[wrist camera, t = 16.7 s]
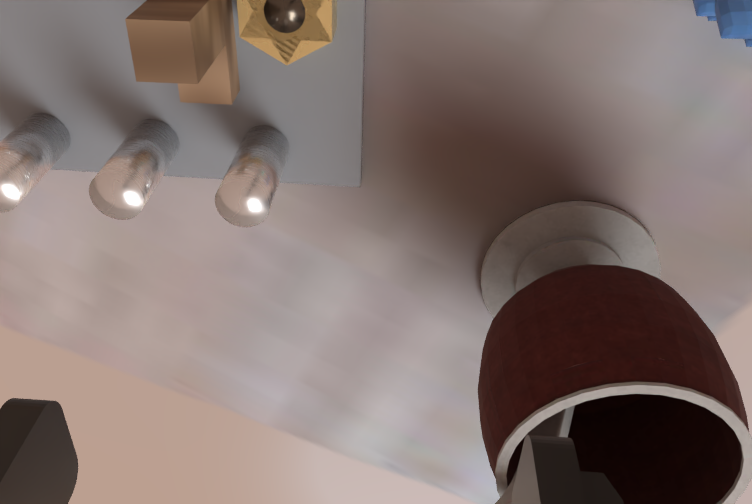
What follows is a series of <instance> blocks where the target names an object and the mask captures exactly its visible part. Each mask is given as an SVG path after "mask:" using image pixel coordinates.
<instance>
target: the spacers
mask: <svg viewBox="0 0 752 504" xmlns="http://www.w3.org/2000/svg"><path fill="white" fill-rule="evenodd" d="M70 143H71V137H70V133H69V131H68V129H67V127H66V126H65V125H64V124H63V123H62V122H61V121H60V120H59V119H58V118H56V117H54V116H52V115H50V114H47V113H34V114H31V115H30V116H28V117H27V118H26V119H25V120H24V121H23V122H22V123H20V124H19V125H18V126H17V127H16V128H15V129H14V130H13V131H12V132H10V133H9V134H8V135H7V136H6V137H5V138H4V139H3V140H2V141H0V212H7V211H10V210H12V209H14V208H15V207H16V206H17V205H18V204H19V202H20V201H21V200H22V199H23V198H24V197H25V196H26V195H27V194H28V193H29V192H30V190H31V189H32V188H33V187H34V186H35V185H36V184H37V183H38V182H39V181H40V180H41V178H42V177H43V176H44V175H45V174H46V173H47V172H48V171H49V170H50V169H51V168H52V166H53V165H54V164H55V163H56V162H57V161H58V160H59V159H60V158H61V157H62V156H63V154H64V153H65V152H66V151H67V150H68V149H69V147H70ZM179 147H180V143H179V138H178V136H177V134H176V132H175V131H174V130H173V128H172V127H171V126H169V125H168V124H167V123H165V122H163V121H160V120H157V119H145V120H143V121H141V122H139V123H138V124H137V125H136V126H135V127H134V128H133V130H132V131H131V132H130V133H129V135H128V136H127V137H126V139H125V140H124V141H123V142H122V144H121V145H120V146H119V147H118V149H117V150H116V151H115V152H114V154H113V155H112V156H111V157H110V159H109V160H108V161H107V163H106V164H105V165H104V166H103V168H102V169H101V170H100V171H99V173H98V174H97V175H96V176H95V178H94V179H93V180H92V182H91V184H90V187H89V194H90V198H91V200H92V202H93V204H94V205H95V207H96V208H97V209H98V210H99V211H101V212H102V213H103V214H105V215H107V216H109V217H111V218H114V219H120V220H126V219H131V218H133V217H135V216H137V215H138V214H139V213H140V212H141V210H142V209H143V207H144V205H145V204H146V202H147V201H148V199H149V197H150V196H151V194H152V193H153V191H154V190H155V188H156V186H157V185H158V183H159V182H160V180H161V178H162V177H163V175H164V174H165V172H166V171H167V169H168V167H169V166H170V164H171V163H172V161H173V159H174V158H175V156H176V155H177V153H178V151H179ZM289 151H290V147H289V142H288V140H287V138H286V137H285V135H284V134H283V133H282V132H281V131H280V130H278V129H276V128H274V127H272V126H268V125H258V126H255V127H253V128H251V129H249V130H248V131H247V132H246V134H245V135H244V137H243V139H242V141H241V143H240V146H239V148H238V150H237V152H236V154H235V156H234V158H233V160H232V162H231V164H230V166H229V168H228V170H227V172H226V174H225V176H224V179H223V181H222V183H221V185H220V187H219V189H218V191H217V193H216V196H215V204H216V208H217V210H218V212H219V213H220V215H221V216H222V217H223V218H224V219H225V220H226V221H228V222H229V223H231V224H233V225H236V226H240V227H252V226H256V225H258V224H260V223H261V222H263V221H264V220H265V218H266V217H267V215H268V213H269V210H270V207H271V204H272V201H273V199H274V196H275V193H276V190H277V187H278V184H279V181H280V178H281V176H282V173H283V170H284V167H285V164H286V161H287V158H288V156H289Z"/></svg>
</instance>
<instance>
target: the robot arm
mask: <svg viewBox="0 0 752 504" xmlns="http://www.w3.org/2000/svg"><path fill="white" fill-rule="evenodd" d="M77 473H78V459H77V455H76V452H75V449H74V446H73V442H72V439H71V436H70V433H69V430H68V426H67V423H66V420H65V417H64V413H63V410H62V408H61V406H60V404H59V403H58V402H56V401H47V400H32V399H18V398H12V399H10V400H8V401H6V403H4V405H3V406H2V407H1V409H0V504H68V502H69V500H70V497H71V495H72V493H73V490H74V487H75V484H76V480H77ZM512 504H624V502H623V500H622V498H621V497H620V496H619V494H618V493H617V491H616V490H615V489H614V487H613V486H612V484H611V483H610V482H609V480H608V479H607V477H606V476H605V475H604V473H598V472H584V471H580V468H579V464H578V459H577V454H576V450H575V446H574V443H573V440H572V439H571V438H568V437H553V436H538V435H526V437H525V439H524V443H523V447H522V452H521V456H520V461H519V465H518V470H517V474H516V478H515V483H514V487H513V493H512Z"/></svg>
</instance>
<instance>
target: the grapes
mask: <svg viewBox="0 0 752 504" xmlns="http://www.w3.org/2000/svg"><path fill="white" fill-rule="evenodd" d="M693 4H694V7H695V11H696V15H697V16H707V18H708V21H717V23H718V27H719V31H720V35H721V38H729V39H745V43H746V47H752V0H693Z"/></svg>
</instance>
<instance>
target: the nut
mask: <svg viewBox="0 0 752 504" xmlns="http://www.w3.org/2000/svg"><path fill="white" fill-rule="evenodd" d="M237 10H238V23H239V36H240V38H242V39H244V40H245V41H247V42H249V43H250V44H252V45H254V46H255V47H257V48H259V49H260V50H262V51H264V52H265V53H267V54H269V55H270V56H272V57H273V58H275V59H277V60H278V61H280V62H282V63H283V64H285V65H289V64H291V63H292V62H294V61H296V60H298V59H300V58H302V57H304V56H306V55H308V54H310V53H312V52H314V51H315V50H317V49H319V48H321V47H323V46H325V45H327V44H329V43H331V42H332V40H333V37H334V34H335V31H336V28H337V0H237Z"/></svg>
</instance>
